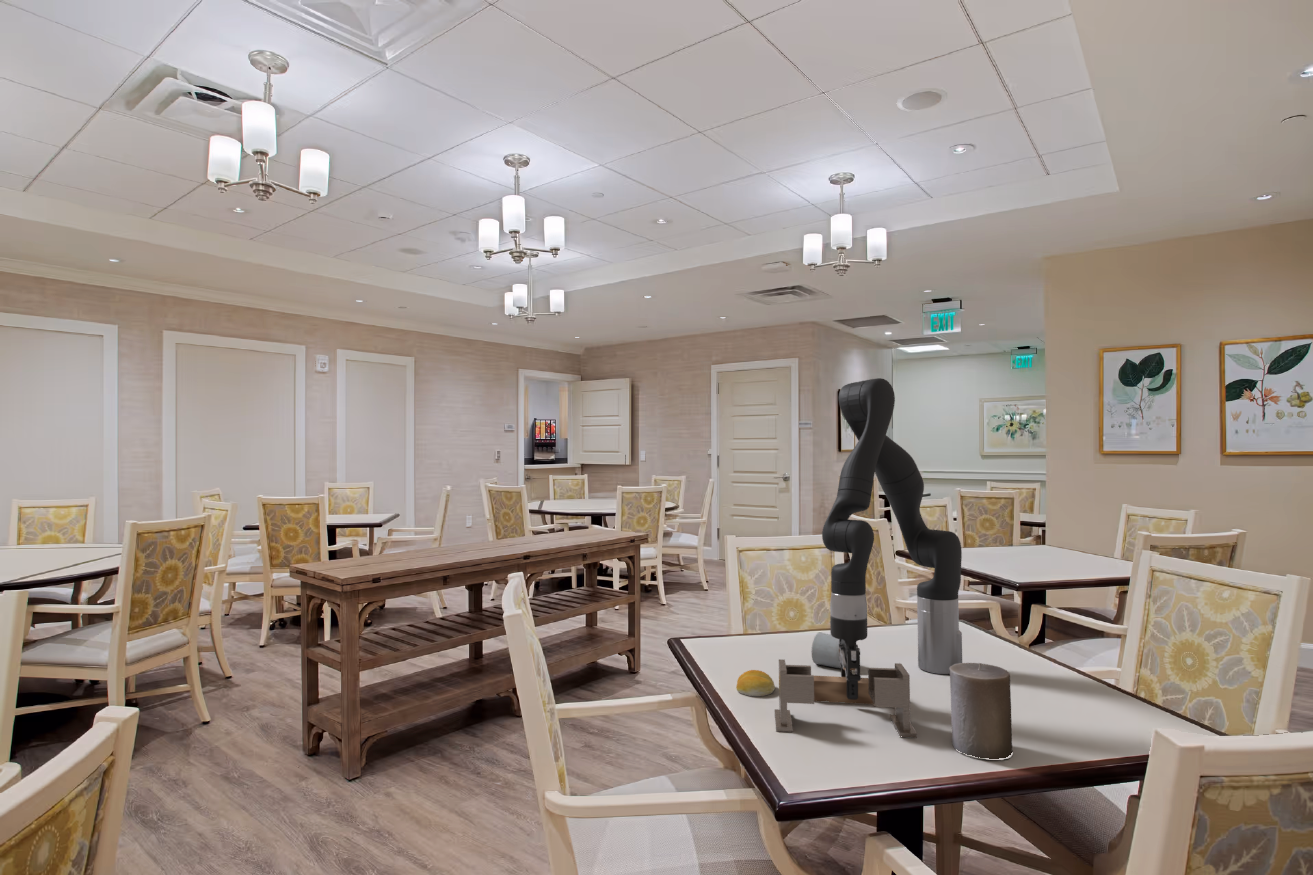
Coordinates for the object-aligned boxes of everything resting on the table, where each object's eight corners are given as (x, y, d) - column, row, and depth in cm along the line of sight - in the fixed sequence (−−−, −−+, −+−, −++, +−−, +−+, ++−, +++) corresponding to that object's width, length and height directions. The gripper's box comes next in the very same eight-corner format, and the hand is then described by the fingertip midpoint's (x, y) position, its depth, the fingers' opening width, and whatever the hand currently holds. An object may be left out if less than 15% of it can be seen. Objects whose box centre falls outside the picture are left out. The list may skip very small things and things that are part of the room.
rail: (893, 700, 143) (893, 679, 143) (896, 706, 140) (896, 684, 140) (806, 696, 146) (806, 675, 146) (807, 701, 143) (806, 680, 143)
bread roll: (735, 697, 146) (735, 678, 146) (738, 683, 155) (737, 665, 155) (774, 699, 144) (774, 680, 145) (775, 685, 153) (774, 667, 153)
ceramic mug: (843, 672, 161) (843, 640, 161) (810, 666, 166) (810, 635, 166) (858, 662, 169) (858, 631, 170) (827, 657, 174) (827, 626, 175)
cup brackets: (905, 719, 132) (904, 662, 133) (917, 737, 123) (915, 676, 124) (774, 713, 136) (773, 657, 136) (776, 731, 127) (775, 671, 127)
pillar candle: (1024, 752, 117) (1021, 664, 118) (992, 766, 112) (989, 674, 112) (971, 734, 125) (969, 652, 126) (939, 746, 120) (937, 660, 121)
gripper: (872, 622, 136) (873, 704, 135) (861, 607, 150) (862, 681, 150) (834, 621, 137) (835, 702, 136) (826, 606, 151) (827, 680, 151)
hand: (849, 691), depth 143 cm, fingers open, 8 cm apart
